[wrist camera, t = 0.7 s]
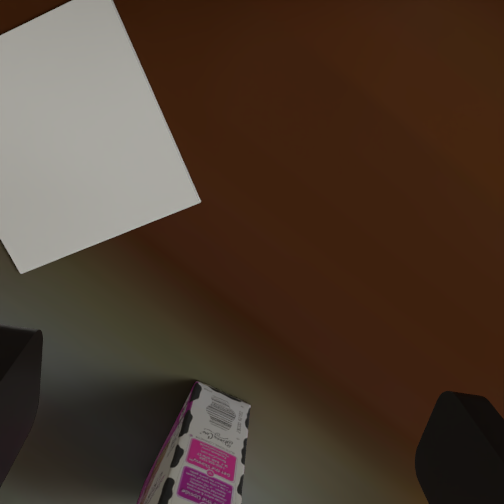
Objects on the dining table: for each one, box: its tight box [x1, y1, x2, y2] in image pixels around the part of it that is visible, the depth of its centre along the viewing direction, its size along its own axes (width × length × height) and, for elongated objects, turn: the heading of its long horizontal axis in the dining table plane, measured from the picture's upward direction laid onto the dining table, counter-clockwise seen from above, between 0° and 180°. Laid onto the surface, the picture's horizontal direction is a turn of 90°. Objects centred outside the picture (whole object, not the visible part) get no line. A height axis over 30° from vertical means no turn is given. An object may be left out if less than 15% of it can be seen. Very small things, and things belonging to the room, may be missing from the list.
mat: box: [0, 0, 201, 274], centre depth 31 cm, size 14×14×1 cm
